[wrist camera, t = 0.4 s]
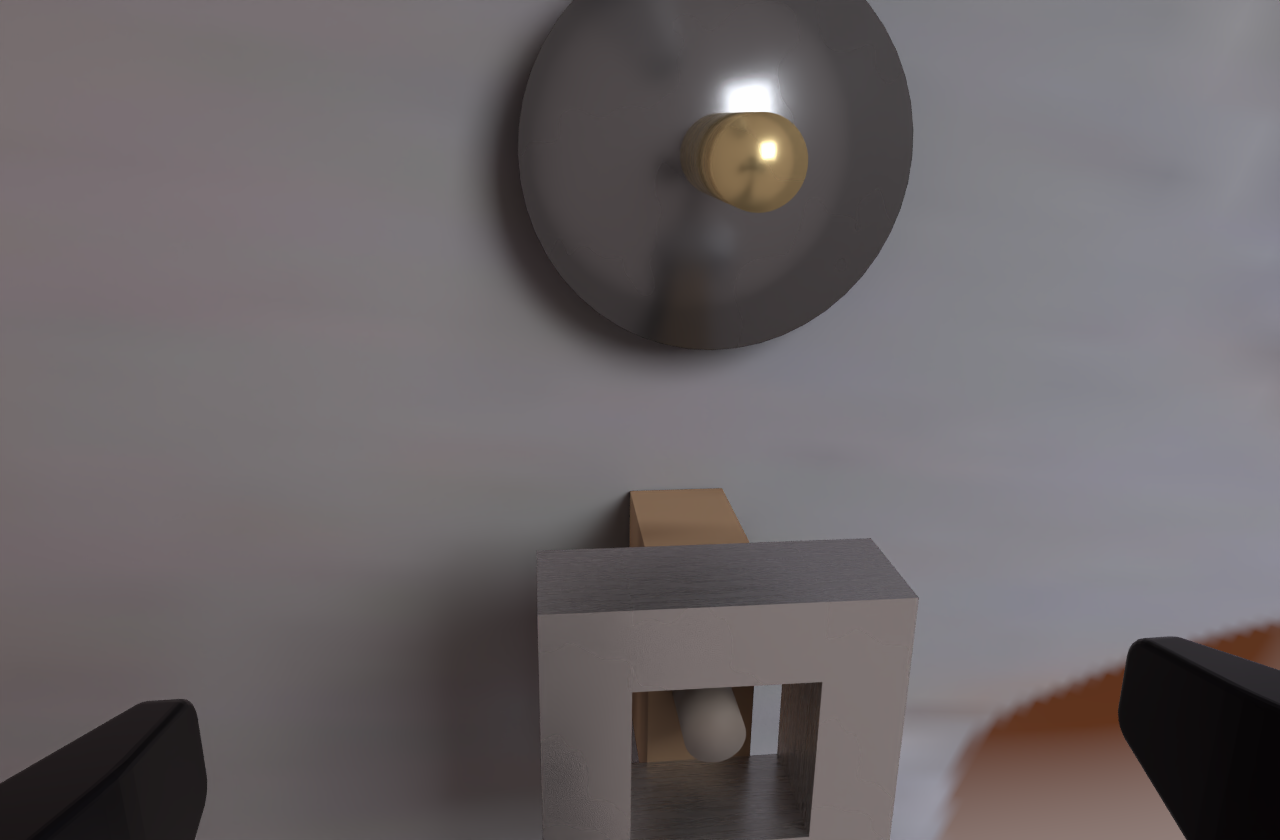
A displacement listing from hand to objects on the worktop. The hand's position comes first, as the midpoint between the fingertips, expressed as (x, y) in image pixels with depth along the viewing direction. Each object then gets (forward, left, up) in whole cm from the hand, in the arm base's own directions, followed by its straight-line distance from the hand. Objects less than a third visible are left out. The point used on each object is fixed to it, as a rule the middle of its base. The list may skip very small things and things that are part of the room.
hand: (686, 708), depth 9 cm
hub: (+5, -2, -13) cm, 14 cm away
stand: (-6, -2, -13) cm, 14 cm away
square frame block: (-6, -2, -9) cm, 11 cm away
